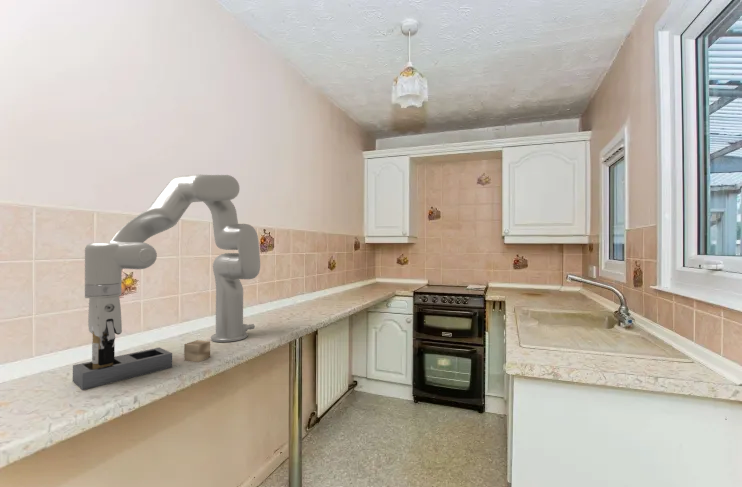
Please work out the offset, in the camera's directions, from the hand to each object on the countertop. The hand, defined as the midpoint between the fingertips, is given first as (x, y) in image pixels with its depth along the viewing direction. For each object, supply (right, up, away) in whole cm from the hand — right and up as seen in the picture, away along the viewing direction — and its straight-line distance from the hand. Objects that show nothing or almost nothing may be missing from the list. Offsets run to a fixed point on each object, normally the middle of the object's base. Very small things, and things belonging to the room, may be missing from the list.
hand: (103, 361), depth 90 cm
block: (+16, -5, +16) cm, 23 cm away
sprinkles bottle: (0, -4, 0) cm, 4 cm away
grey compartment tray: (+3, -5, +4) cm, 7 cm away
